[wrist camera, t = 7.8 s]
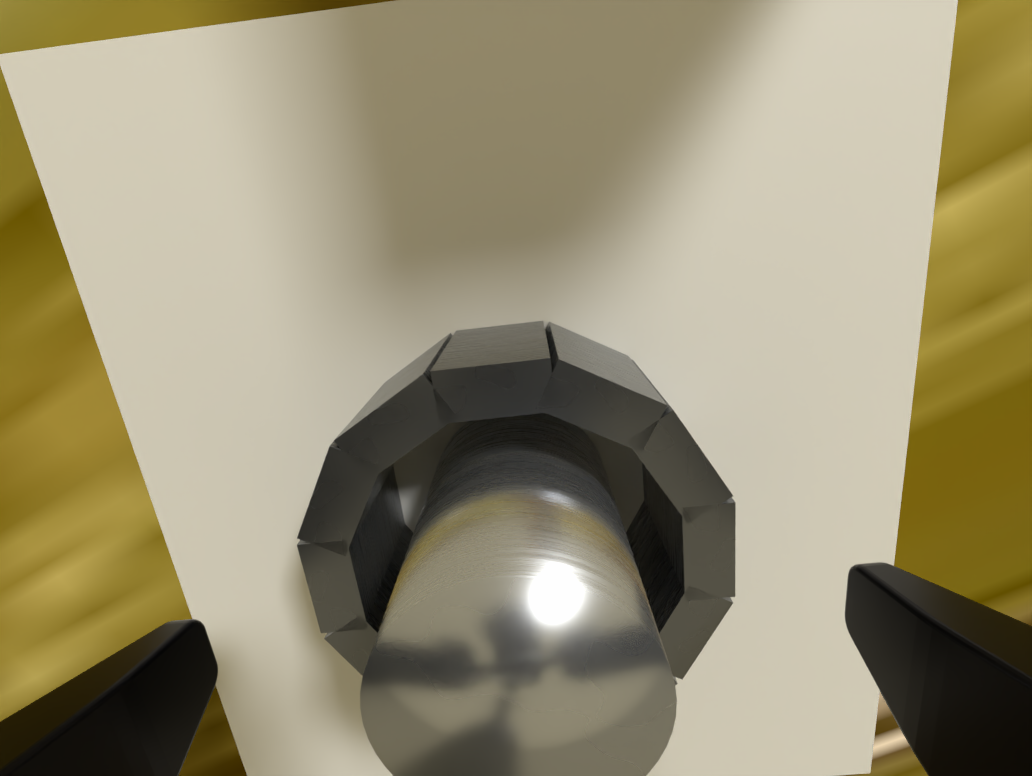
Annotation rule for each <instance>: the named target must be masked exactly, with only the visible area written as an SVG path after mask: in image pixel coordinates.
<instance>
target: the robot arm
mask: <svg viewBox="0 0 1032 776" xmlns="http://www.w3.org/2000/svg"><path fill="white" fill-rule="evenodd" d="M845 623H846V626H847V629H848V632H849V634H850V636H851V638H852V640H853V642H854V644H855V646H856V648H857V649H858V651H859V653H860V655H861V657H862V659H863V661H864V662H865V664H866V666H867V668H868V670H869V672H870V673H871V675H872V677H873V679H874V681H875V683H876V685H877V686H878V688H879V690H880V692H881V694H882V696H883V698H884V699H885V701H886V703H887V705H888V707H889V709H890V711H891V712H892V714H893V716H894V718H895V720H896V722H897V724H898V725H899V727H900V729H901V731H902V733H903V734H904V736H905V738H906V740H907V741H908V743H909V745H910V747H911V748H912V750H913V752H914V754H915V755H916V757H917V758H918V760H919V761H920V763H921V765H922V766H923V768H924V769H925V771H926V772H927V774H928V776H1032V626H1030V625H1028V624H1025V623H1023V622H1021V621H1019V620H1016V619H1014V618H1012V617H1009V616H1007V615H1005V614H1003V613H1000V612H998V611H996V610H993V609H991V608H989V607H986V606H984V605H982V604H980V603H977V602H975V601H973V600H970V599H968V598H966V597H964V596H961V595H959V594H957V593H954V592H952V591H950V590H948V589H945V588H943V587H941V586H938V585H936V584H934V583H932V582H929V581H927V580H925V579H922V578H920V577H918V576H916V575H913V574H911V573H909V572H906V571H904V570H902V569H900V568H897V567H895V566H893V565H890V564H888V563H884V562H876V563H864V564H856V565H854V566H852V567H851V568H850V570H849V573H848V580H847V591H846V603H845ZM217 677H218V664H217V661H216V658H215V655H214V652H213V649H212V646H211V643H210V640H209V637H208V634H207V631H206V628H205V626H204V624H203V623H202V622H201V621H199V620H196V619H190V620H178V621H170V622H167V623H165V624H163V625H162V626H160V627H158V628H157V629H155V630H153V631H152V632H150V633H148V634H147V635H145V636H143V637H141V638H140V639H138V640H136V641H135V642H133V643H131V644H130V645H128V646H126V647H125V648H123V649H121V650H120V651H118V652H116V653H115V654H113V655H111V656H110V657H108V658H106V659H105V660H103V661H101V662H100V663H98V664H96V665H95V666H93V667H91V668H90V669H88V670H86V671H85V672H83V673H81V674H80V675H78V676H76V677H75V678H73V679H71V680H70V681H68V682H66V683H65V684H63V685H61V686H59V687H58V688H56V689H54V690H53V691H51V692H49V693H48V694H46V695H44V696H43V697H41V698H39V699H38V700H36V701H34V702H33V703H31V704H29V705H28V706H26V707H24V708H23V709H21V710H19V711H18V712H16V713H14V714H13V715H11V716H9V717H8V718H6V719H4V720H3V721H1V722H0V776H178V775H179V773H180V771H181V768H182V766H183V763H184V761H185V758H186V756H187V753H188V751H189V748H190V746H191V744H192V741H193V739H194V736H195V734H196V731H197V729H198V726H199V724H200V722H201V719H202V717H203V714H204V712H205V709H206V707H207V704H208V702H209V699H210V697H211V695H212V692H213V690H214V687H215V684H216V681H217Z"/></svg>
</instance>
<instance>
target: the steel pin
mask: <svg viewBox="0 0 1032 776" xmlns="http://www.w3.org/2000/svg"><path fill="white" fill-rule="evenodd" d="M676 708H677V697H676V688H675V682H674V678H673V675H672V672H671V668H670V665H669V662H668V659H667V656H666V653H665V650H664V647H663V644H662V641H661V638H660V635H659V632H658V629H657V626H656V623H655V620H654V617H653V614H652V611H651V608H650V605H649V602H648V598H647V595H646V592H645V589H644V586H643V583H642V580H641V577H640V574H639V571H638V568H637V565H636V562H635V559H634V556H633V553H632V550H631V547H630V544H629V541H628V538H627V535H626V532H625V529H624V526H623V523H622V520H621V517H620V514H619V511H618V508H617V505H616V502H615V499H614V496H613V493H612V490H611V487H610V484H609V481H608V478H607V475H606V472H605V469H604V465H603V462H602V459H601V457H600V455H599V452H598V450H597V448H596V447H595V445H594V443H593V442H592V440H591V439H590V438H589V437H588V435H587V434H586V433H585V432H584V431H583V430H582V429H581V428H580V427H578V426H576V425H573V424H571V423H569V422H566V421H564V420H561V419H559V418H556V417H554V416H552V415H549V414H547V413H540V414H530V415H521V416H512V417H502V418H493V419H483V420H474V421H468V422H467V423H466V424H465V425H463V426H462V427H461V428H460V429H459V430H458V431H457V432H456V433H455V434H454V435H453V436H452V438H451V439H450V440H449V442H448V443H447V445H446V447H445V448H444V450H443V452H442V454H441V457H440V460H439V463H438V466H437V468H436V471H435V474H434V477H433V480H432V482H431V485H430V488H429V491H428V494H427V496H426V499H425V502H424V505H423V508H422V510H421V513H420V516H419V519H418V522H417V525H416V527H415V530H414V533H413V536H412V539H411V541H410V544H409V547H408V550H407V553H406V555H405V558H404V561H403V564H402V567H401V569H400V572H399V575H398V578H397V581H396V583H395V586H394V589H393V592H392V595H391V597H390V600H389V603H388V606H387V609H386V611H385V614H384V617H383V620H382V623H381V625H380V628H379V631H378V634H377V637H376V639H375V642H374V645H373V648H372V651H371V653H370V656H369V659H368V662H367V665H366V668H365V671H364V673H363V677H362V683H361V689H360V710H361V716H362V722H363V726H364V729H365V731H366V734H367V737H368V740H369V742H370V744H371V746H372V748H373V749H374V751H375V753H376V755H377V756H378V758H379V759H380V760H381V762H382V763H383V765H384V766H385V767H386V768H387V769H388V770H389V771H390V773H391V774H392V775H393V776H646V775H647V774H648V773H649V772H650V771H651V769H652V768H653V767H654V766H655V764H656V763H657V762H658V761H659V759H660V757H661V755H662V754H663V752H664V750H665V749H666V747H667V744H668V742H669V740H670V737H671V735H672V732H673V728H674V723H675V719H676Z"/></svg>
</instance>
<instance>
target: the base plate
mask: <svg viewBox="0 0 1032 776" xmlns="http://www.w3.org/2000/svg"><path fill="white" fill-rule="evenodd" d="M957 3H958V0H396V1H389V2H381V3H374V4H366V5H359V6H352V7H344V8H337V9H330V10H322V11H315V12H308V13H300V14H293V15H286V16H278V17H271V18H264V19H256V20H249V21H241V22H234V23H227V24H219V25H212V26H205V27H197V28H190V29H183V30H175V31H168V32H161V33H153V34H146V35H139V36H131V37H124V38H117V39H109V40H102V41H94V42H87V43H80V44H72V45H65V46H58V47H50V48H43V49H36V50H28V51H21V52H14V53H6V54H0V66H1V69H2V72H3V75H4V77H5V80H6V83H7V86H8V89H9V92H10V95H11V98H12V100H13V103H14V106H15V109H16V112H17V115H18V118H19V121H20V123H21V126H22V129H23V132H24V135H25V138H26V141H27V144H28V147H29V149H30V152H31V155H32V158H33V161H34V164H35V167H36V170H37V172H38V175H39V178H40V181H41V184H42V187H43V190H44V193H45V195H46V198H47V201H48V204H49V207H50V210H51V213H52V216H53V218H54V221H55V224H56V227H57V230H58V233H59V236H60V239H61V241H62V244H63V247H64V250H65V253H66V256H67V259H68V262H69V265H70V267H71V270H72V273H73V276H74V279H75V282H76V285H77V288H78V290H79V293H80V296H81V299H82V302H83V305H84V308H85V311H86V313H87V316H88V319H89V322H90V325H91V328H92V331H93V334H94V336H95V339H96V342H97V345H98V348H99V351H100V354H101V357H102V360H103V362H104V365H105V368H106V371H107V374H108V377H109V380H110V383H111V385H112V388H113V391H114V394H115V397H116V400H117V403H118V406H119V408H120V411H121V414H122V417H123V420H124V423H125V426H126V429H127V431H128V434H129V437H130V440H131V443H132V446H133V449H134V452H135V455H136V457H137V460H138V463H139V466H140V469H141V472H142V475H143V478H144V480H145V483H146V486H147V489H148V492H149V495H150V498H151V501H152V503H153V506H154V509H155V512H156V515H157V518H158V521H159V524H160V526H161V529H162V532H163V535H164V538H165V541H166V544H167V547H168V549H169V552H170V555H171V558H172V561H173V564H174V567H175V570H176V573H177V575H178V578H179V581H180V584H181V587H182V590H183V593H184V596H185V598H186V601H187V604H188V607H189V610H190V613H191V616H192V619H196V620H199V621H201V622H202V623H203V624H204V626H205V628H206V631H207V634H208V637H209V640H210V643H211V646H212V649H213V652H214V655H215V658H216V661H217V664H218V677H217V681H216V684H215V685H216V688H217V691H218V693H219V696H220V699H221V702H222V705H223V708H224V711H225V714H226V716H227V719H228V722H229V725H230V728H231V731H232V734H233V737H234V739H235V742H236V745H237V748H238V751H239V754H240V757H241V760H242V763H243V765H244V768H245V771H246V774H247V776H393V775H392V774H391V773H390V771H389V770H388V769H387V768H386V767H385V766H384V765H383V763H382V762H381V760H380V759H379V758H378V756H377V755H376V753H375V751H374V749H373V748H372V746H371V744H370V742H369V740H368V737H367V734H366V731H365V729H364V726H363V722H362V716H361V710H360V689H361V683H362V677H363V676H362V675H361V674H360V673H359V672H358V671H357V670H356V669H355V668H354V667H353V666H352V665H351V664H350V663H349V662H348V661H347V660H346V659H345V658H343V657H342V656H341V655H340V654H339V653H338V652H337V651H336V650H335V649H334V648H333V647H332V646H331V645H330V644H329V643H328V642H327V641H326V640H325V639H324V638H325V636H326V634H327V633H321V632H320V628H319V625H318V621H317V617H316V614H315V610H314V606H313V603H312V599H311V595H310V592H309V588H308V584H307V581H306V577H305V573H304V570H303V566H302V563H301V559H300V555H299V552H298V548H297V544H298V542H299V541H300V539H297V537H298V534H299V531H300V528H301V525H302V522H303V520H304V517H305V514H306V511H307V508H308V505H309V503H310V500H311V497H312V494H313V491H314V488H315V486H316V483H317V480H318V477H319V474H320V471H321V469H322V466H323V463H324V460H325V457H326V454H327V452H328V449H329V446H330V445H331V444H332V443H333V442H334V440H335V438H336V437H337V436H338V435H339V434H340V433H341V432H342V430H343V429H344V428H345V427H346V426H347V425H348V424H349V423H350V421H351V420H352V419H353V418H354V417H355V416H356V415H357V413H358V412H359V411H360V410H361V409H362V408H363V407H364V405H365V404H366V403H367V402H368V401H369V400H370V399H371V397H372V396H373V395H374V394H375V393H376V392H377V391H378V389H379V388H380V387H381V386H382V385H383V384H384V383H385V382H386V381H387V380H389V379H390V378H391V377H393V376H394V375H395V374H397V373H398V372H399V371H401V370H402V369H403V368H405V367H406V366H407V365H408V364H410V363H411V362H412V361H414V360H415V359H416V358H418V357H419V356H420V355H422V354H423V353H424V352H426V351H427V350H428V349H430V348H431V347H432V346H434V345H435V344H436V343H438V342H439V341H440V340H442V339H443V338H444V337H446V336H447V335H448V334H450V333H451V334H452V335H454V333H455V331H457V330H465V329H474V328H483V327H492V326H500V325H509V324H518V323H527V322H535V321H543V323H544V328H545V329H546V327H547V325H548V323H549V322H551V323H554V324H556V325H558V326H561V327H563V328H565V329H568V330H570V331H572V332H575V333H577V334H579V335H581V336H584V337H586V338H588V339H591V340H593V341H595V342H598V343H600V344H602V345H605V346H607V347H609V348H612V349H614V350H616V351H618V352H621V353H623V354H625V355H628V356H629V357H630V359H631V360H632V359H633V360H634V362H635V363H636V364H637V365H638V367H639V368H640V369H641V370H642V372H643V373H644V374H645V375H646V377H647V378H648V379H649V380H650V382H651V383H652V384H653V385H654V387H655V388H656V389H657V390H658V392H659V393H660V394H661V395H662V397H663V398H664V399H665V400H666V401H667V403H668V404H669V405H670V406H671V408H672V409H673V410H674V412H675V413H676V414H677V416H678V417H679V419H680V420H681V422H682V423H683V424H684V426H685V427H686V429H687V430H688V432H689V433H690V434H691V436H692V437H693V439H694V440H695V442H696V443H697V444H698V446H699V447H700V449H701V450H702V452H703V453H704V455H705V456H706V457H707V459H708V460H709V462H710V463H711V465H712V466H713V467H714V469H715V470H716V472H717V473H718V475H719V476H720V477H721V479H722V480H723V482H724V483H725V485H726V486H727V487H728V489H729V490H730V492H731V493H732V495H733V497H732V499H733V500H734V501H735V502H736V528H735V597H730V598H731V600H732V601H733V604H732V606H731V607H730V609H729V610H728V612H727V613H726V615H725V616H724V618H723V619H722V621H721V622H720V624H719V625H718V627H717V628H716V630H715V631H714V633H713V634H712V636H711V637H710V639H709V640H708V642H707V643H706V645H705V646H704V648H703V649H702V651H701V652H700V654H699V655H698V657H697V658H696V660H695V661H694V663H693V664H692V666H691V667H690V669H689V670H688V672H687V674H686V675H685V677H684V678H683V680H682V679H679V678H677V677H676V680H677V683H678V684H677V685H675V688H676V697H677V708H676V719H675V723H674V728H673V732H672V735H671V737H670V740H669V742H668V744H667V747H666V749H665V750H664V752H663V754H662V755H661V757H660V759H659V761H658V762H657V763H656V764H655V766H654V767H653V768H652V769H651V771H650V772H649V773H648V774H647V775H646V776H835V775H850V774H865V773H870V771H871V762H872V753H873V745H874V736H875V727H876V718H877V709H878V700H879V692H880V690H879V688H878V686H877V685H876V683H875V681H874V679H873V677H872V675H871V673H870V672H869V670H868V668H867V666H866V664H865V662H864V661H863V659H862V657H861V655H860V653H859V651H858V649H857V648H856V646H855V644H854V642H853V640H852V638H851V636H850V634H849V632H848V629H847V626H846V623H845V603H846V591H847V580H848V573H849V570H850V568H851V567H852V566H854V565H856V564H864V563H876V562H884V563H888V564H890V565H893V566H894V559H895V550H896V542H897V533H898V524H899V515H900V506H901V497H902V489H903V480H904V471H905V462H906V453H907V444H908V436H909V427H910V418H911V409H912V400H913V391H914V383H915V374H916V365H917V356H918V347H919V339H920V330H921V321H922V312H923V303H924V294H925V286H926V277H927V268H928V259H929V250H930V241H931V233H932V224H933V215H934V206H935V197H936V188H937V180H938V171H939V162H940V153H941V144H942V135H943V127H944V118H945V109H946V100H947V91H948V82H949V74H950V65H951V56H952V47H953V38H954V30H955V21H956V12H957ZM467 422H468V421H465V422H455V423H449V424H448V425H446V426H445V427H443V428H442V429H441V430H439V431H438V432H436V433H435V434H434V435H432V436H431V437H429V438H428V439H427V440H425V441H424V442H422V443H421V444H420V445H418V446H417V447H415V448H414V449H413V450H411V451H410V452H408V453H407V454H406V455H404V456H403V457H402V458H400V459H399V460H397V461H396V462H395V463H394V465H393V467H394V472H395V477H396V482H397V487H398V491H399V496H400V501H401V506H402V511H403V516H404V521H405V524H406V525H407V526H408V527H409V529H410V530H411V531H412V532H413V533H414V530H415V527H416V525H417V522H418V519H419V516H420V513H421V510H422V508H423V505H424V502H425V499H426V496H427V494H428V491H429V488H430V485H431V482H432V480H433V477H434V474H435V471H436V468H437V466H438V463H439V460H440V457H441V454H442V452H443V450H444V448H445V447H446V445H447V443H448V442H449V440H450V439H451V438H452V436H453V435H454V434H455V433H456V432H457V431H458V430H459V429H460V428H461V427H462V426H463V425H465V424H466V423H467ZM580 428H581V427H580ZM581 429H582V430H583V431H584V432H585V433H586V434H587V435H588V437H589V438H590V439H591V440H592V442H593V443H594V445H595V447H596V448H597V450H598V452H599V455H600V457H601V459H602V462H603V465H604V469H605V472H606V475H607V478H608V481H609V484H610V487H611V490H612V493H613V496H614V499H615V502H616V505H617V508H618V511H619V514H620V517H621V520H622V523H623V526H624V529H625V532H627V530H628V528H629V526H630V524H631V523H632V521H633V519H634V517H635V516H636V514H637V512H638V510H639V509H640V507H641V505H642V503H643V501H644V488H643V470H642V461H641V460H640V459H639V457H638V456H637V454H636V453H635V452H634V450H633V449H632V448H629V447H627V446H624V445H622V444H620V443H617V442H615V441H612V440H610V439H607V438H605V437H603V436H600V435H598V434H595V433H593V432H590V431H588V430H586V429H583V428H581Z"/></svg>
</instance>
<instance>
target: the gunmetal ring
mask: <svg viewBox="0 0 1032 776" xmlns="http://www.w3.org/2000/svg"><path fill="white" fill-rule="evenodd" d="M540 413H547V414H549V415H552V416H554V417H556V418H559V419H561V420H564V421H566V422H569V423H571V424H573V425H576V426H578V427H581V428H583V429H586V430H588V431H590V432H593V433H595V434H598V435H600V436H603V437H605V438H607V439H610V440H612V441H615V442H617V443H620V444H622V445H624V446H627V447H629V448H632V449H633V450H634V452H635V453H636V454H637V456H638V457H639V459H640V460H641V461H642V470H643V488H644V501H643V503H642V505H641V507H640V509H639V510H638V512H637V514H636V516H635V517H634V519H633V521H632V523H631V524H630V526H629V528H628V530H627V532H626V535H627V538H628V541H629V544H630V547H631V550H632V553H633V556H634V559H635V562H636V565H637V568H638V571H639V574H640V577H641V580H642V583H643V586H644V589H645V592H646V595H647V598H648V602H649V605H650V608H651V611H652V614H653V617H654V620H655V623H656V626H657V629H658V632H659V635H660V638H661V641H662V644H663V647H664V650H665V653H666V656H667V659H668V662H669V665H670V668H671V672H672V675H673V678H674V682H675V685H677V684H678V683H677V680H676V677H677V678H679V679H682V680H683V678H684V677H685V675H686V674H687V672H688V670H689V669H690V667H691V666H692V664H693V663H694V661H695V660H696V658H697V657H698V655H699V654H700V652H701V651H702V649H703V648H704V646H705V645H706V643H707V642H708V640H709V639H710V637H711V636H712V634H713V633H714V631H715V630H716V628H717V627H718V625H719V624H720V622H721V621H722V619H723V618H724V616H725V615H726V613H727V612H728V610H729V609H730V607H731V606H732V604H733V601H732V600H731V598H730V597H735V528H736V502H735V501H734V500H733V499H732V497H733V495H732V493H731V492H730V490H729V489H728V487H727V486H726V485H725V483H724V482H723V480H722V479H721V477H720V476H719V475H718V473H717V472H716V470H715V469H714V467H713V466H712V465H711V463H710V462H709V460H708V459H707V457H706V456H705V455H704V453H703V452H702V450H701V449H700V447H699V446H698V444H697V443H696V442H695V440H694V439H693V437H692V436H691V434H690V433H689V432H688V430H687V429H686V427H685V426H684V424H683V423H682V422H681V420H680V419H679V417H678V416H677V414H676V413H675V412H674V410H673V409H672V408H671V406H670V405H669V404H668V403H667V401H666V400H665V399H664V398H663V397H662V395H661V394H660V393H659V392H658V390H657V389H656V388H655V387H654V385H653V384H652V383H651V382H650V380H649V379H648V378H647V377H646V375H645V374H644V373H643V372H642V370H641V369H640V368H639V367H638V365H637V364H636V363H635V362H634V360H633V359H632V360H631V359H630V357H629V356H628V355H625V354H623V353H621V352H618V351H616V350H614V349H612V348H609V347H607V346H605V345H602V344H600V343H598V342H595V341H593V340H591V339H588V338H586V337H584V336H581V335H579V334H577V333H575V332H572V331H570V330H568V329H565V328H563V327H561V326H558V325H556V324H554V323H551V322H549V323H548V325H547V327H546V329H545V328H544V323H543V321H535V322H527V323H518V324H509V325H500V326H492V327H483V328H474V329H465V330H457V331H455V333H454V335H452V334H451V333H450V334H448V335H447V336H446V337H444V338H443V339H442V340H440V341H439V342H438V343H436V344H435V345H434V346H432V347H431V348H430V349H428V350H427V351H426V352H424V353H423V354H422V355H420V356H419V357H418V358H416V359H415V360H414V361H412V362H411V363H410V364H408V365H407V366H406V367H405V368H403V369H402V370H401V371H399V372H398V373H397V374H395V375H394V376H393V377H391V378H390V379H389V380H387V381H386V382H385V383H384V384H383V385H382V386H381V387H380V388H379V389H378V391H377V392H376V393H375V394H374V395H373V396H372V397H371V399H370V400H369V401H368V402H367V403H366V404H365V405H364V407H363V408H362V409H361V410H360V411H359V412H358V413H357V415H356V416H355V417H354V418H353V419H352V420H351V421H350V423H349V424H348V425H347V426H346V427H345V428H344V429H343V430H342V432H341V433H340V434H339V435H338V436H337V437H336V438H335V440H334V442H333V443H332V444H331V445H330V446H329V449H328V452H327V454H326V457H325V460H324V463H323V466H322V469H321V471H320V474H319V477H318V480H317V483H316V486H315V488H314V491H313V494H312V497H311V500H310V503H309V505H308V508H307V511H306V514H305V517H304V520H303V522H302V525H301V528H300V531H299V534H298V537H297V539H300V541H299V542H298V544H297V548H298V552H299V555H300V559H301V563H302V566H303V570H304V573H305V577H306V581H307V584H308V588H309V592H310V595H311V599H312V603H313V606H314V610H315V614H316V617H317V621H318V625H319V628H320V632H321V633H327V634H326V636H325V638H324V639H325V640H326V641H327V642H328V643H329V644H330V645H331V646H332V647H333V648H334V649H335V650H336V651H337V652H338V653H339V654H340V655H341V656H342V657H343V658H345V659H346V660H347V661H348V662H349V663H350V664H351V665H352V666H353V667H354V668H355V669H356V670H357V671H358V672H359V673H360V674H361V675H362V676H363V673H364V671H365V668H366V665H367V662H368V659H369V656H370V653H371V651H372V648H373V645H374V642H375V639H376V637H377V634H378V631H379V628H380V625H381V623H382V620H383V617H384V614H385V611H386V609H387V606H388V603H389V600H390V597H391V595H392V592H393V589H394V586H395V583H396V581H397V578H398V575H399V572H400V569H401V567H402V564H403V561H404V558H405V555H406V553H407V550H408V547H409V544H410V541H411V539H412V536H413V532H412V531H411V530H410V529H409V527H408V526H407V525H406V524H405V521H404V516H403V511H402V506H401V501H400V496H399V491H398V487H397V482H396V477H395V472H394V467H393V465H394V463H395V462H396V461H397V460H399V459H400V458H402V457H403V456H404V455H406V454H407V453H408V452H410V451H411V450H413V449H414V448H415V447H417V446H418V445H420V444H421V443H422V442H424V441H425V440H427V439H428V438H429V437H431V436H432V435H434V434H435V433H436V432H438V431H439V430H441V429H442V428H443V427H445V426H446V425H448V424H449V423H455V422H465V421H474V420H483V419H493V418H502V417H512V416H521V415H530V414H540Z"/></svg>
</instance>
